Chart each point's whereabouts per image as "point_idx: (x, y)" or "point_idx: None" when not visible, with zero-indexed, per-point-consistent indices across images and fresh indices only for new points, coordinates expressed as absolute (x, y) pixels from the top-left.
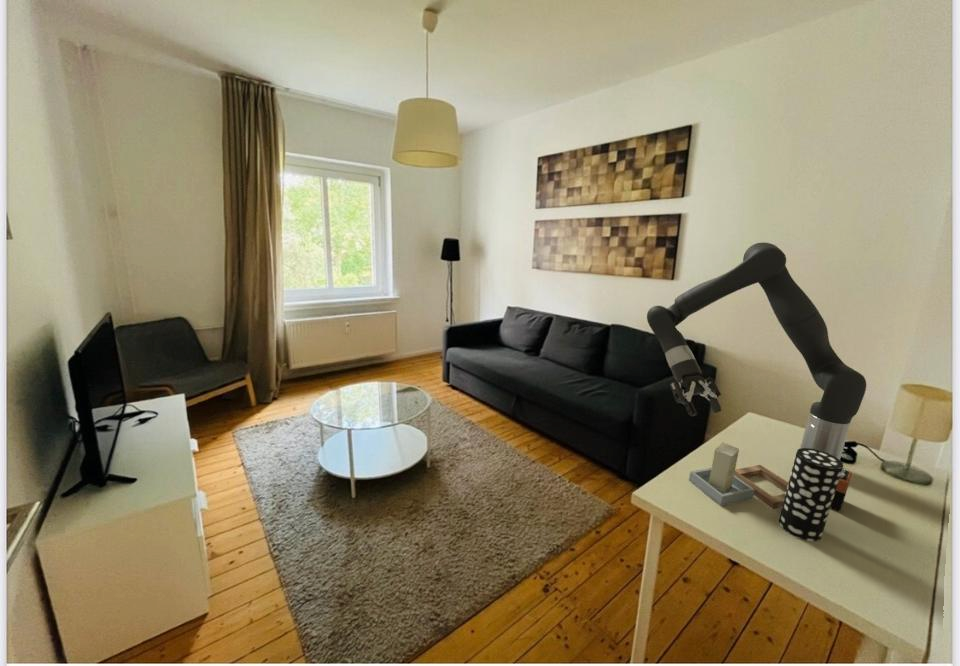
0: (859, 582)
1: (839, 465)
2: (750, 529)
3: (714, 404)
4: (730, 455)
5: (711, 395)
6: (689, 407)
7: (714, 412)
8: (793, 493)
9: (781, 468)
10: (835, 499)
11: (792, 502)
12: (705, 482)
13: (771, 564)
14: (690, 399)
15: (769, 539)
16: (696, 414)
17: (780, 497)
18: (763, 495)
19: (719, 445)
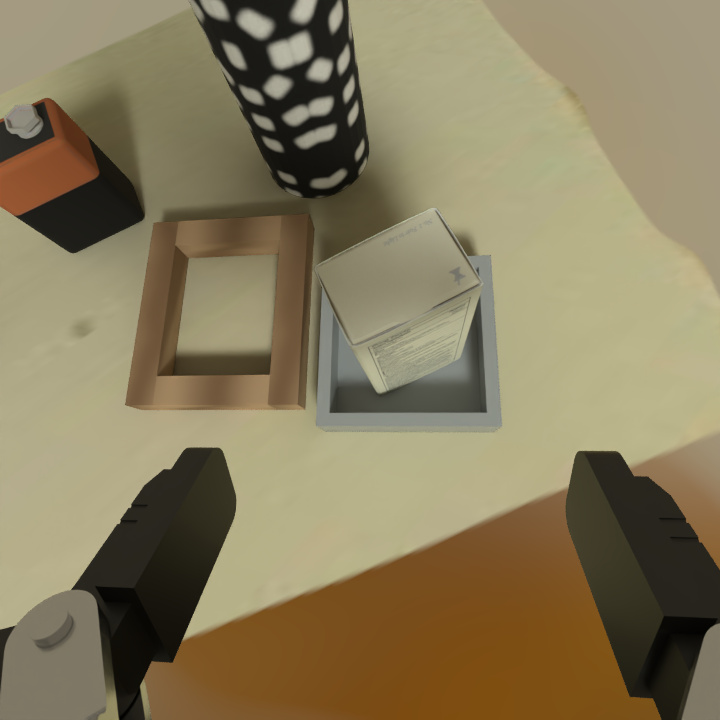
0: (360, 12)
1: None
2: (473, 173)
3: (183, 542)
4: (435, 216)
5: (106, 665)
6: (701, 550)
7: (233, 509)
8: (348, 32)
9: (47, 397)
10: (113, 169)
11: (355, 63)
12: (491, 341)
13: (528, 71)
14: (716, 668)
15: (450, 135)
16: (581, 454)
17: (259, 230)
18: (306, 251)
19: (405, 322)
